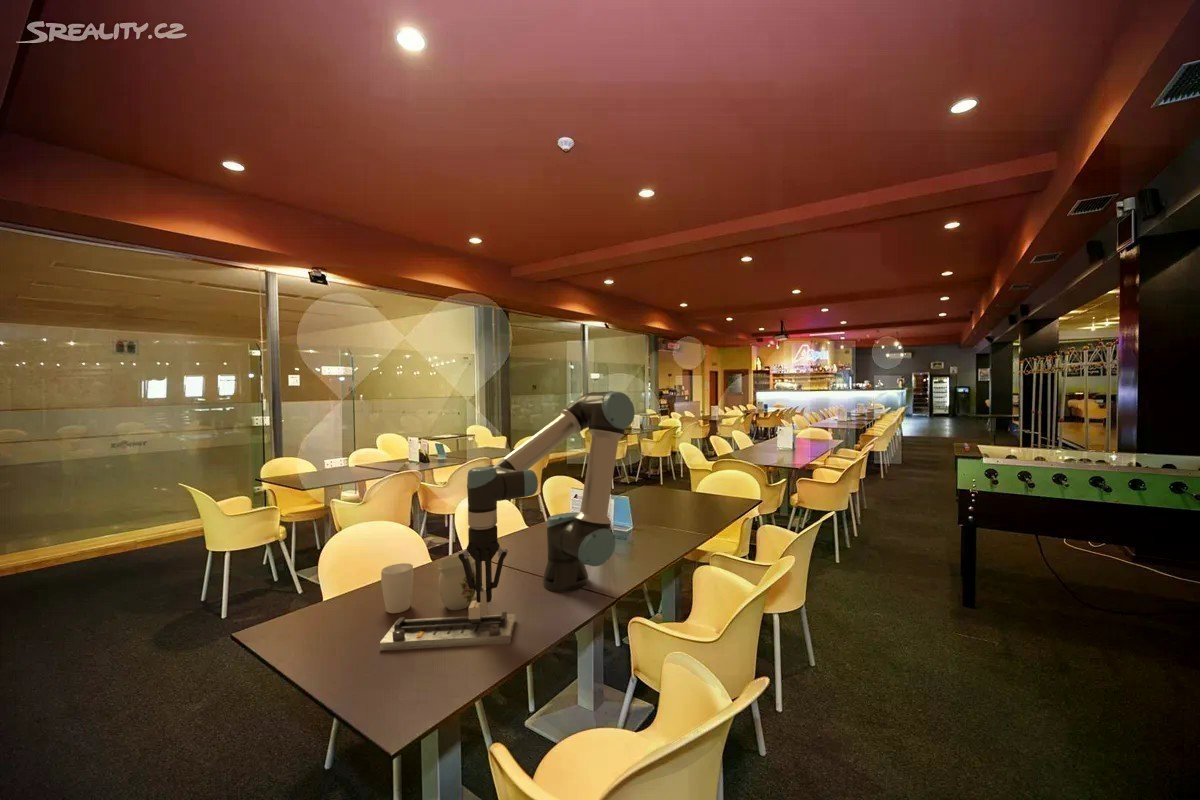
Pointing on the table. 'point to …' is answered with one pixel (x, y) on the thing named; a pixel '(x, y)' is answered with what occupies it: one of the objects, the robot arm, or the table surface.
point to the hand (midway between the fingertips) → (484, 613)
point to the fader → (475, 612)
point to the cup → (397, 587)
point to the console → (448, 632)
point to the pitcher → (455, 583)
